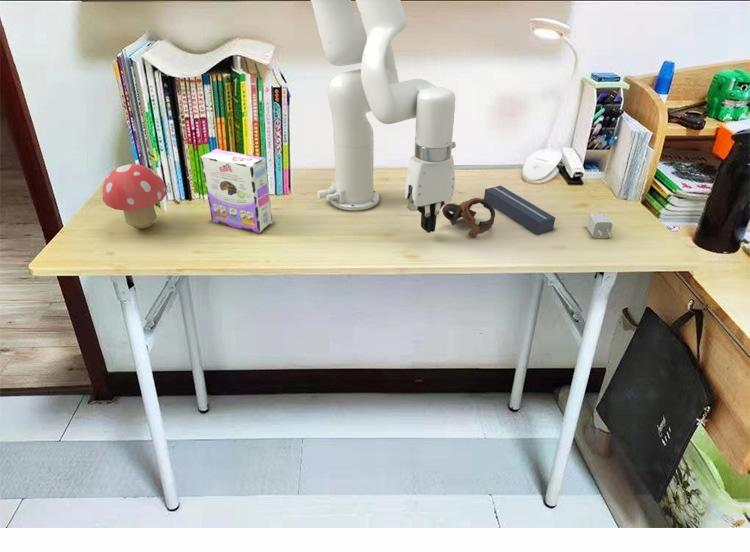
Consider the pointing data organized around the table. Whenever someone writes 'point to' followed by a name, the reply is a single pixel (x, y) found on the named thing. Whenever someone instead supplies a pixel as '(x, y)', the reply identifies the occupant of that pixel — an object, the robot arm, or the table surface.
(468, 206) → the brown curved looped piece
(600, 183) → the table surface
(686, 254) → the table surface
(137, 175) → the decorative mushroom
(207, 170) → the candy box
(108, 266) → the table surface
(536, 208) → the pencil case
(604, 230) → the usb wall charger
